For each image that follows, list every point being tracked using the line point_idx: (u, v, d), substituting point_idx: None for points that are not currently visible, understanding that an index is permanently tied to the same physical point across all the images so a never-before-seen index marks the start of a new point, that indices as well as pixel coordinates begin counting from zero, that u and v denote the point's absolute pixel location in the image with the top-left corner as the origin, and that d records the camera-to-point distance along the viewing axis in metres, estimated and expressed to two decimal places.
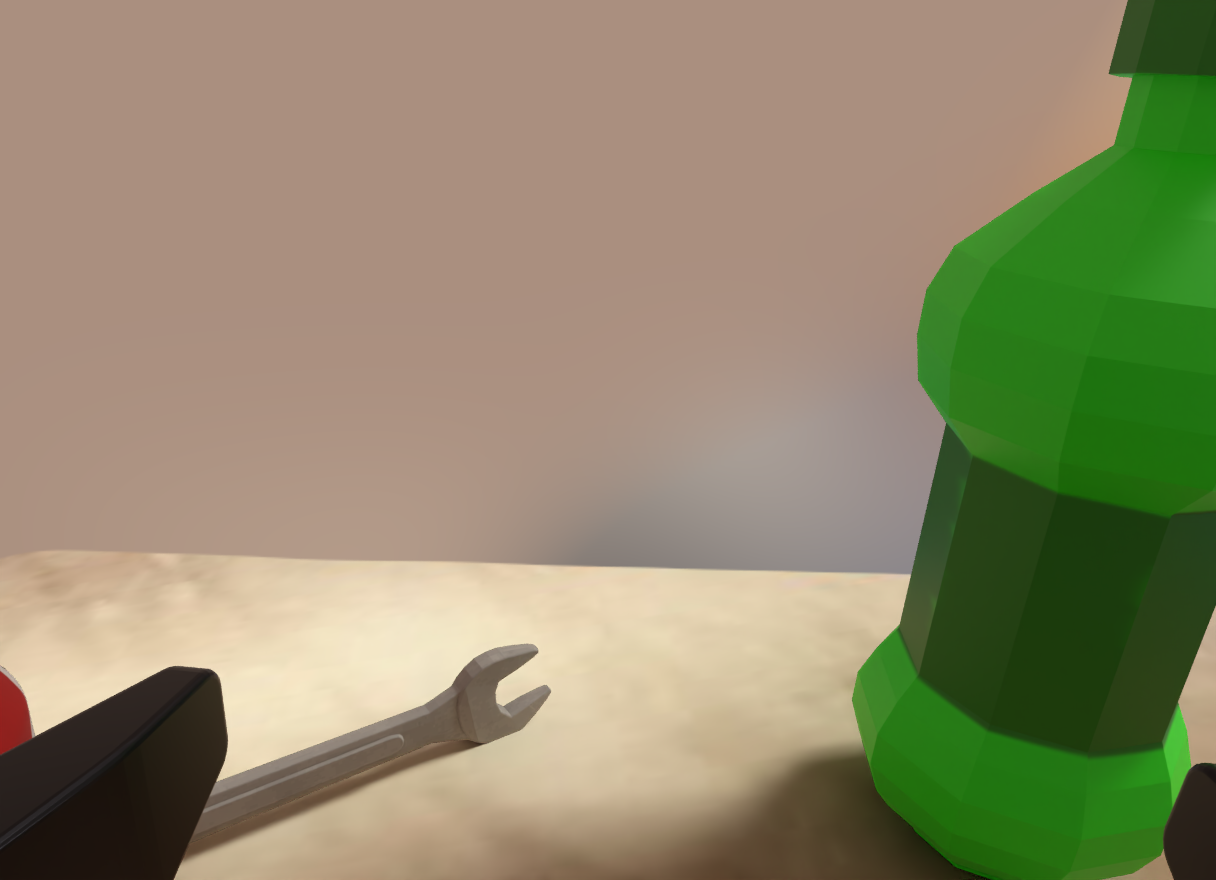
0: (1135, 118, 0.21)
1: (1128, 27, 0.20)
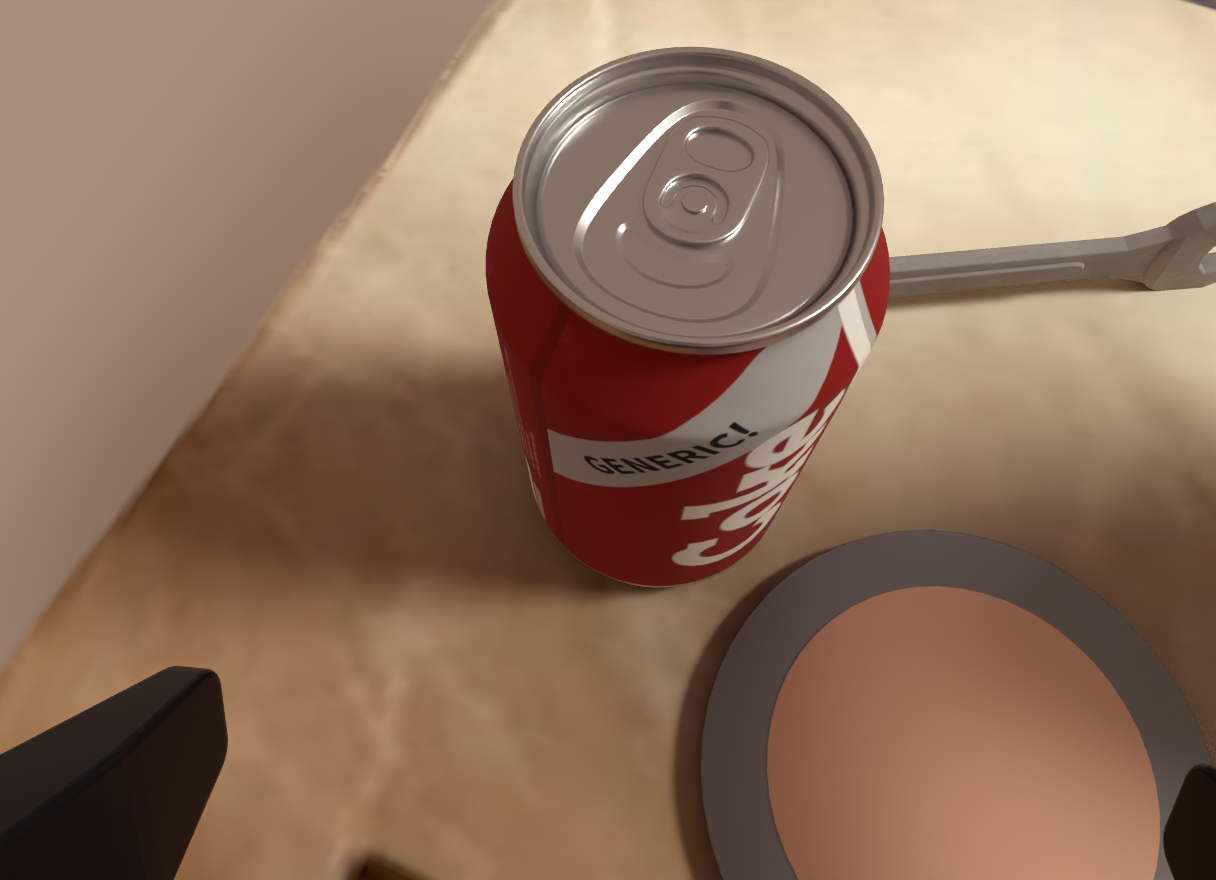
0: None
1: None
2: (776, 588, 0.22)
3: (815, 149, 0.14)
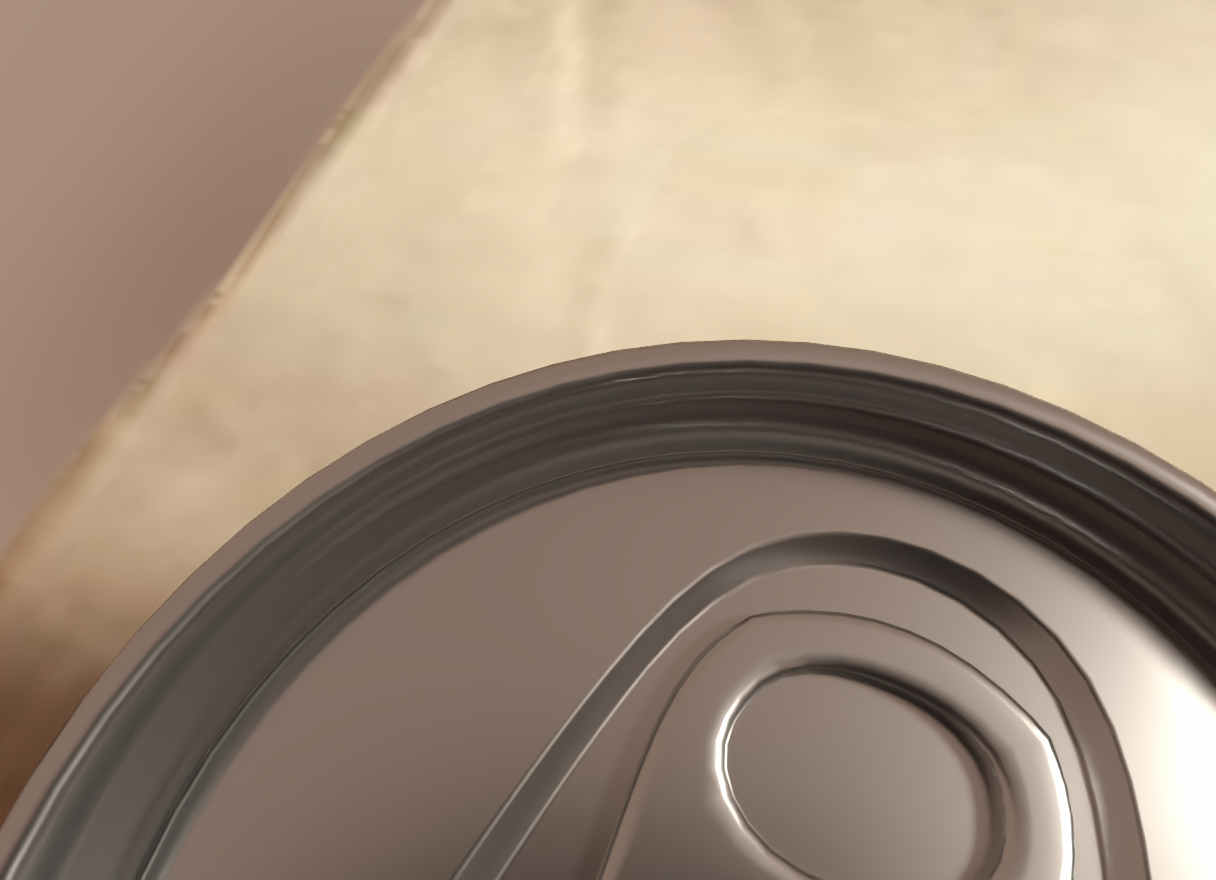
0: None
1: None
2: None
3: None
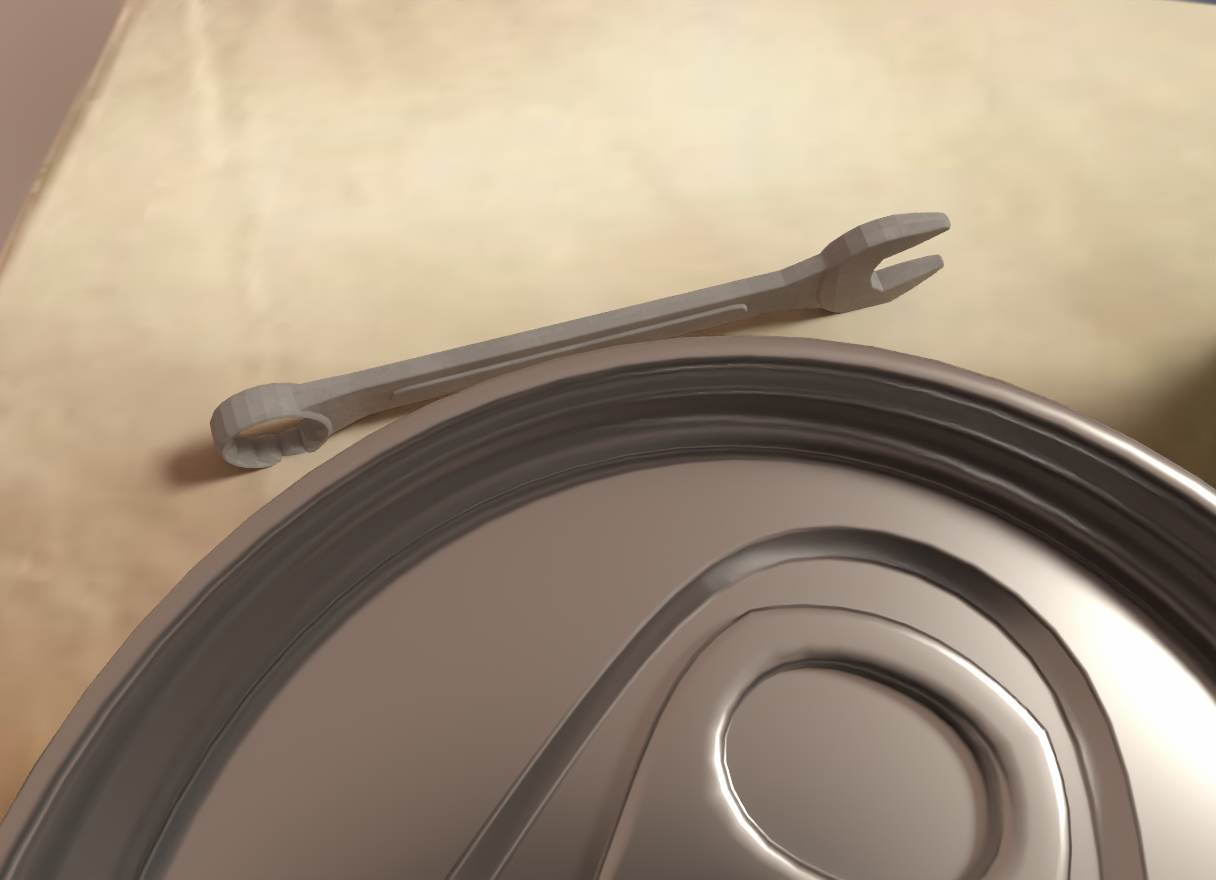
0: None
1: None
2: None
3: None
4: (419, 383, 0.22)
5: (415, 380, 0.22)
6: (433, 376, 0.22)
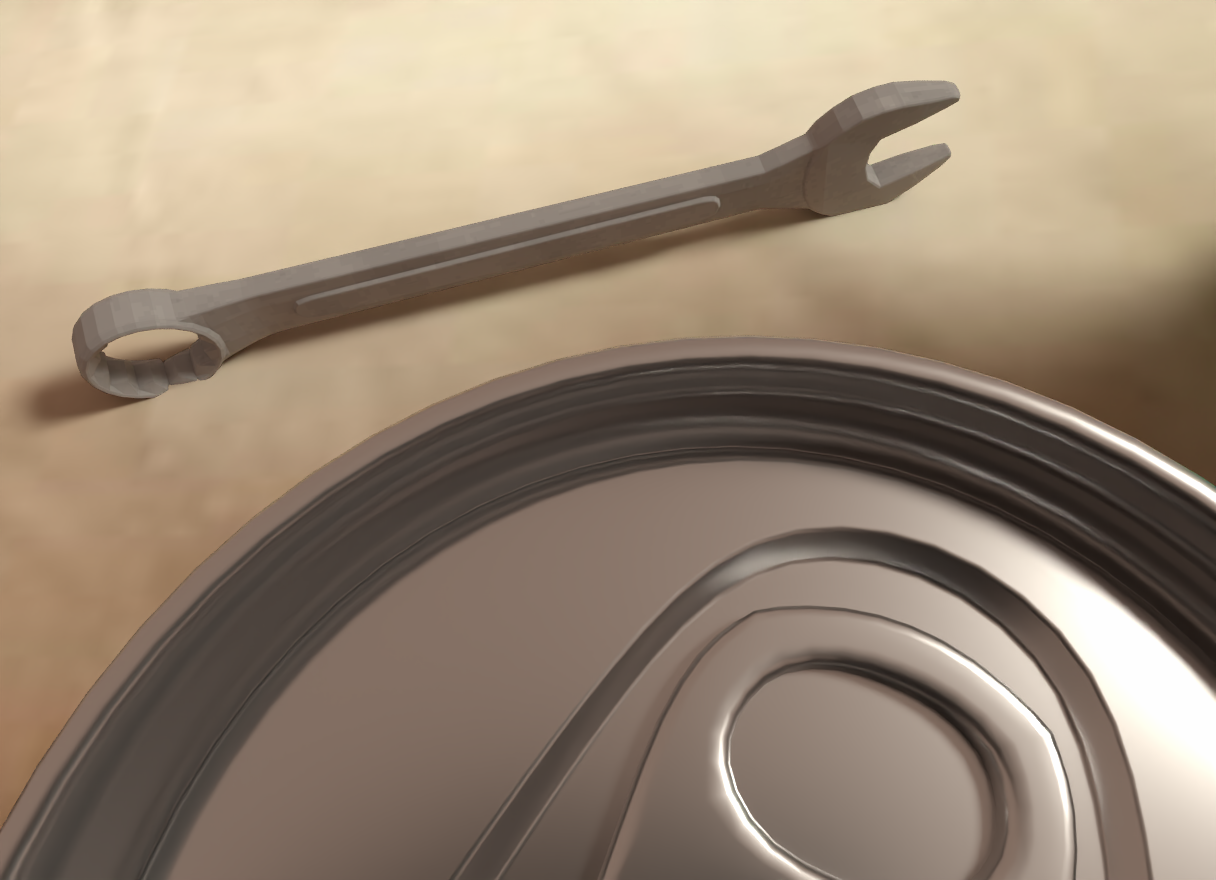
0: None
1: None
2: None
3: None
4: (327, 291, 0.18)
5: (322, 286, 0.18)
6: (343, 282, 0.18)
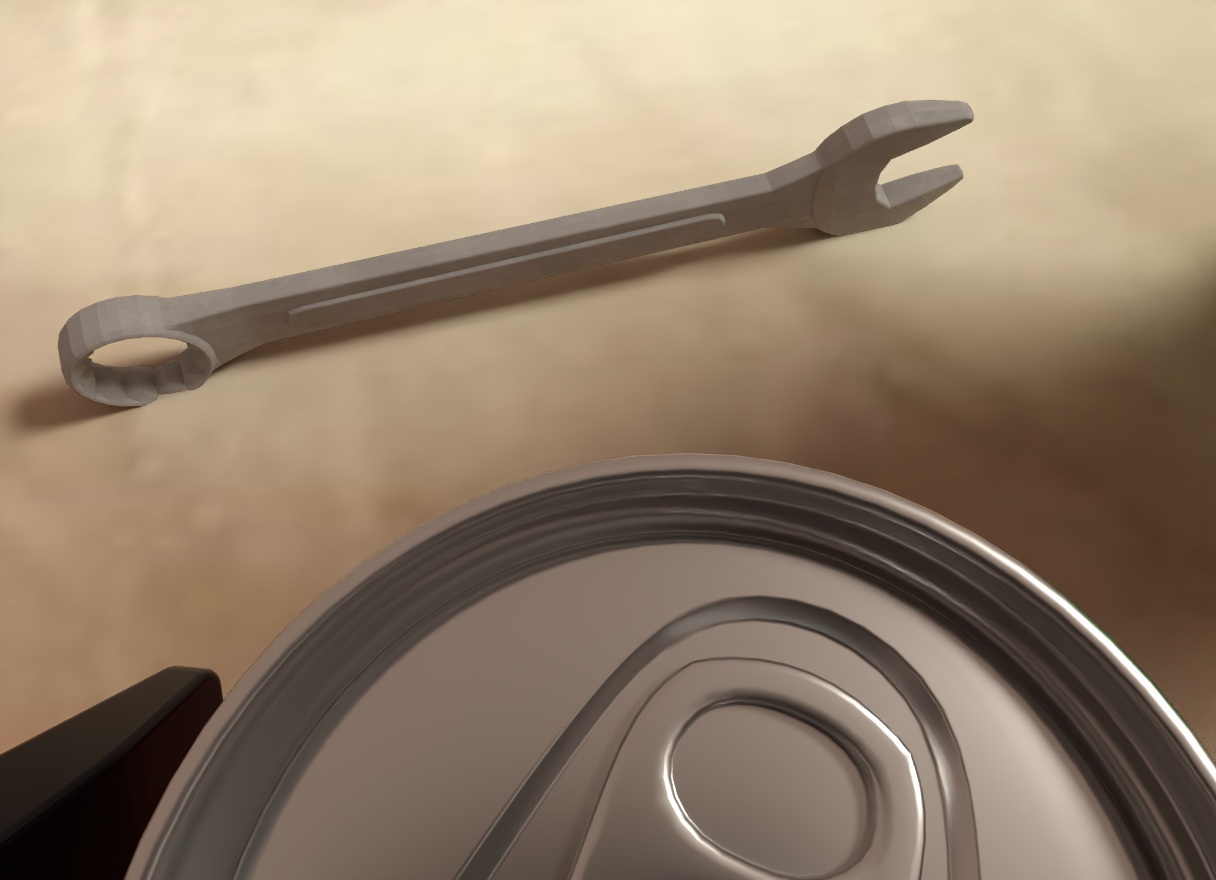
0: None
1: None
2: None
3: (1064, 794, 0.04)
4: (320, 301, 0.18)
5: (314, 297, 0.18)
6: (337, 292, 0.18)
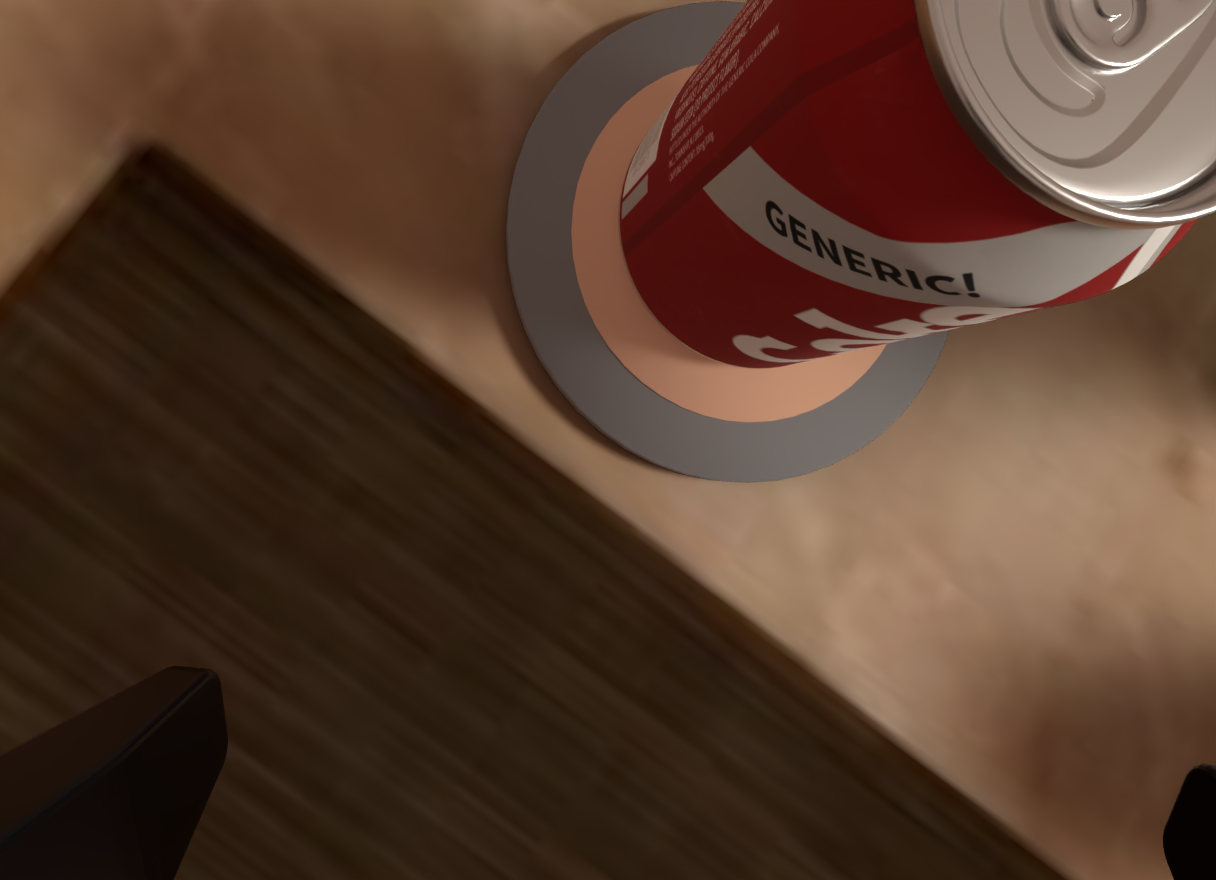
0: None
1: None
2: (640, 19, 0.21)
3: None
4: None
5: None
6: None
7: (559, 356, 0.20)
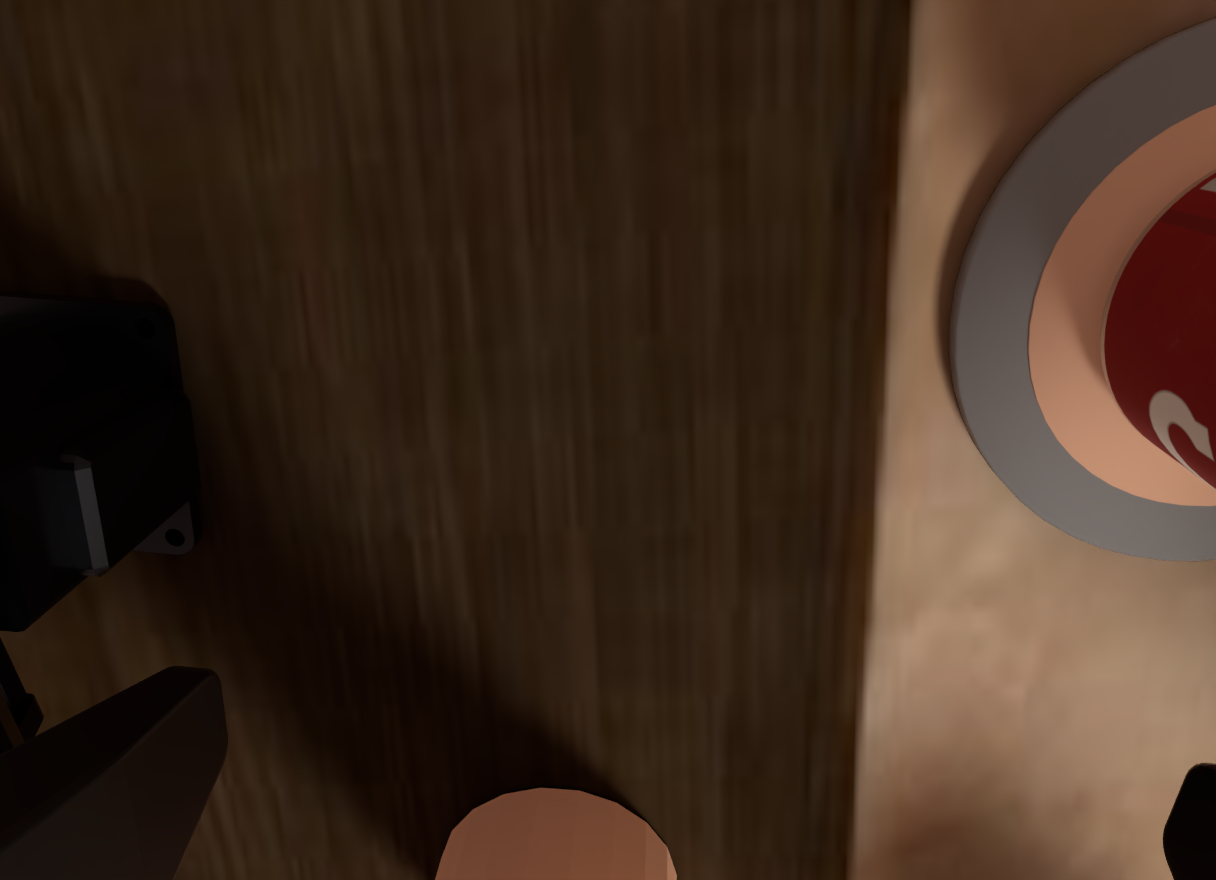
0: None
1: None
2: None
3: None
4: None
5: None
6: None
7: (1001, 234, 0.18)
